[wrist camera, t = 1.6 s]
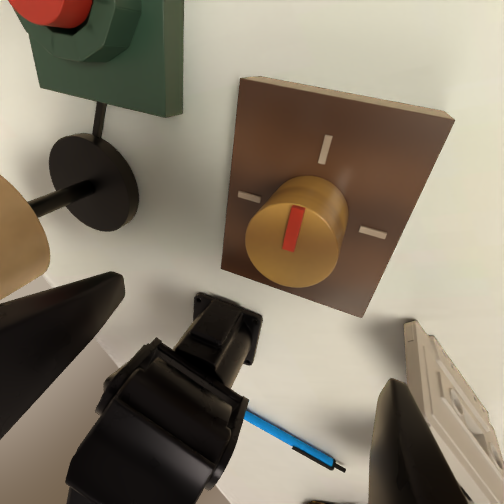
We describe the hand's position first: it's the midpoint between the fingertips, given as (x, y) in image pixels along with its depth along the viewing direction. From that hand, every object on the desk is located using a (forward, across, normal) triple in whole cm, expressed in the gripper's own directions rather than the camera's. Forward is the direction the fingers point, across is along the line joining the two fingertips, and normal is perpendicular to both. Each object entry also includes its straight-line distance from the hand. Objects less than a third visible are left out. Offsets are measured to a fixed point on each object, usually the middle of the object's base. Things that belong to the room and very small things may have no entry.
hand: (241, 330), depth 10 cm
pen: (+13, -1, +27) cm, 30 cm away
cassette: (+13, -13, +11) cm, 21 cm away
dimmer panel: (+13, 0, 0) cm, 13 cm away
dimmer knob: (+10, 0, 0) cm, 10 cm away
